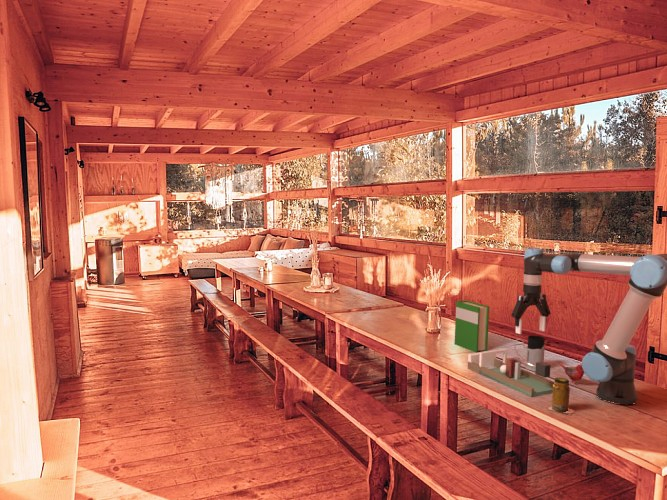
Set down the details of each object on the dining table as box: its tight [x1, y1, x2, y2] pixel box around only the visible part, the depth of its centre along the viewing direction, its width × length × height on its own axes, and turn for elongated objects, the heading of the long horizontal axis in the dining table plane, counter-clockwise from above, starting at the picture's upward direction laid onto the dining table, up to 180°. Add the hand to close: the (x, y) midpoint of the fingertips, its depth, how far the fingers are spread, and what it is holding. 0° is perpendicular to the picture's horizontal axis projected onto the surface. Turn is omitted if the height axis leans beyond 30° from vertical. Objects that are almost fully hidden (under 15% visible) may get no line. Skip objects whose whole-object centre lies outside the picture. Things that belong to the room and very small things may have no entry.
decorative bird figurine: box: [558, 362, 585, 386], centre depth 246 cm, size 3×18×10 cm, turn 15°
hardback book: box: [453, 300, 490, 353], centre depth 298 cm, size 18×7×24 cm, turn 27°
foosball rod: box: [506, 356, 551, 379], centre depth 238 cm, size 20×6×10 cm, turn 26°
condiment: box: [547, 376, 571, 416], centre depth 213 cm, size 7×8×12 cm
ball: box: [500, 365, 506, 374], centre depth 251 cm, size 4×4×4 cm
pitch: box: [467, 348, 554, 398], centre depth 247 cm, size 40×15×10 cm, turn 26°
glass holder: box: [513, 335, 546, 372], centre depth 265 cm, size 9×14×15 cm, turn 78°
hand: (530, 332), depth 242 cm, fingers open, 13 cm apart
